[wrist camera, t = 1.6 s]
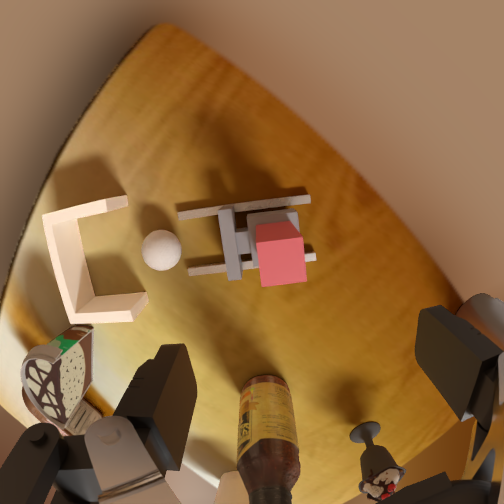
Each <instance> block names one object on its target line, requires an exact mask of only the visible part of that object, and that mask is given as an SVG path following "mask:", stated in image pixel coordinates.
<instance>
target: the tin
mask: <svg viewBox="0 0 504 504" xmlns="http://www.w3.org/2000/svg"><path fill="white" fill-rule="evenodd" d="M22 396H23V400H24V403H25V405H26V407H27V408H28V410H29V411H30V412H31V413H32V414H33V415H34V416H35V417H36V418H37V419H38V420H39V421H40V422H41V423H51V424H53V423H52V422H51V421H49V420H48V419H47V418H46V417H45V416H44V415H42V414H41V413H40V411H39V410H38V409H37V408H36V407H35V406H34V404H33V403H32V402H31V400H30V399H29V397H28V395H27V394H26V392H25V389H24V387H22ZM101 418H104V417H103V416H102V414H101V413H100V412H99V411H98V410H97V409H96V408H94V407H93V406H92V405H91V404H90V403H89V402H87V401H86V400H85V399H84V398H82V399H81V401H80V403H79V404H78V406H77V408H76V409H75V411H74V413H73V414H72V416H71V418H70V419H69V421H70V423H69V424H68V425H67V426H66V428H64V429H61V428H60V427H58V426H56V425H55V424H53V425H55V426H56V427H57V428H58V430H59V431H60V433H61V434H62V436H72V435H83V434H85V432H86V430H87V429H88V427H89V426H90V425H91V424H92V423H94V422H95V421H97V420H98V419H101Z"/></svg>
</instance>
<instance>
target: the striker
mask: <svg viewBox="0 0 504 504" xmlns="http://www.w3.org/2000/svg"><path fill="white" fill-rule="evenodd" d="M217 211H218V218H219V225H220V231H221V238H222V244H223V250H224V257H225V263H226V269H227V275H228V281H231V280H240V279H242V272H243V268H242V261H241V254H248V253H252V261H253V267H256V266H259V269H260V277H261V284H262V287H267V286H274V285H282V284H290V283H298V282H305V281H307V278H306V266H305V255H304V244H303V237H302V235H301V234H300V233H299V223H298V214H297V211H296V210H295V209H284V210H276V211H268V212H260V213H252V214H247V224H248V228H240V229H237V227H236V220H235V213H234V206H227V207H221V208H220V209H219V210H217Z"/></svg>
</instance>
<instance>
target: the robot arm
mask: <svg viewBox="0 0 504 504" xmlns="http://www.w3.org/2000/svg"><path fill="white" fill-rule="evenodd" d="M415 356H416V360H417V362H418V364H419V366H420V367H421V368H422V369H423V371H424V372H425V373H426V375H427V376H428V377H429V379H430V380H431V381H432V383H433V384H434V385H435V387H436V388H437V389H438V391H439V392H440V393H441V395H442V396H443V397H444V399H445V400H446V401H447V403H448V404H449V406H450V407H451V408H452V410H453V411H454V413H455V414H456V415H457V417H458V418H459V420H460V421H464V420H466V419H468V418H470V417H473V416H474V417H475V418H476V421H475V423H474V425H473V430H472V437H471V443H470V448H469V453H468V458H467V463H466V467H465V471H464V474H463V476H462V478H461V480H453V481H450V480H449V478H448V476H447V475H446V472H442V473H440V474H438V475H435V476H433V477H430V478H428V479H425V480H423V481H420V482H418V483H415V484H412V485H410V486H406V487H404V488H403V489H401V490H400V491H398V492H396V493H394V494H393V495H391V496H389V497H387V498H385V499H383V500H381V501H380V502H378V503H376V504H504V302H503V301H501V300H499V299H498V298H495V299H494V298H493V297H491V296H490V295H487V294H485V293H480V294H477V295H475V296H473V297H471V298H470V299H469V300H467V301H466V302H465V303H464V304H463V305H462V306H461V307H460V309H459V310H458V312H457V313H456V315H453V314H452V313H451V312H449V311H448V310H447V309H446V308H444V307H443V306H442V305H438V306H434V307H430V308H425V309H422V310H421V311H420V313H419V318H418V327H417V335H416V343H415ZM128 387H129V388H127V389H126V391H125V393H124V395H123V397H122V399H121V401H120V402H119V404H118V406H117V408H116V410H115V412H114V414H113V416H107V417H104V418H101V419H98V420H97V421H95V422H94V423H92V424H91V425H90V426H89V427H88V429H87V430H86V432H85V434H83V435H72V436H62V434H61V433H60V431H59V430H58V428H57V427H56V426H55V425H53V424H51V423H38V424H35V425H33V426H31V427H29V428H28V429H27V430H26V431H25V432H24V433H23V434H22V435H21V437H20V438H19V440H18V442H17V443H16V445H15V446H14V448H13V449H12V451H11V453H10V454H9V456H8V457H7V459H6V460H5V462H4V464H3V465H2V467H1V469H0V504H44V502H45V500H46V497H47V495H48V493H49V490H50V489H51V486H52V485H53V486H54V487H55V489H56V492H55V494H54V497H53V499H52V501H51V504H181V502H180V501H179V500H178V498H177V497H176V495H175V494H174V492H173V491H172V489H171V488H170V487H169V485H168V484H167V482H166V481H165V479H164V478H165V474H166V471H167V470H173V471H180V467H181V463H182V458H183V454H184V450H185V445H186V441H187V437H188V432H189V428H190V424H191V420H192V415H193V411H194V407H195V403H196V399H197V384H196V379H195V376H194V372H193V369H192V365H191V362H190V358H189V355H188V351H187V348H186V346H185V344H165V345H161V347H160V348H159V350H158V352H157V354H156V356H155V358H154V359H148V360H147V361H146V362H145V363H144V364H143V365H141V366H140V367H139V368H138V369H137V371H136V373H135V375H134V377H133V380H131V382H130V384H129V386H128Z"/></svg>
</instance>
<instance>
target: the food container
mask: <svg viewBox="0 0 504 504" xmlns="http://www.w3.org/2000/svg"><path fill="white" fill-rule="evenodd" d="M93 337H94V328H93V327H90V326H87V325H76V326H73V327H71V328H69V329H68V330H66V331H65V332H63V333H62V334H61V335H59V336H58V337H56V338H55V339H54V340H52V341H51V342H50V343H48V344H47V345H38V346H35V347H33V348H32V349H31V350H30V351H29V353H28V354H27V356H26V358H25V359H24V361H23V364H22V368H21V381H22V384H23V387H24V389H25V392H26V394H27V395H28V397H29V399H30V400H31V402H32V403H33V404H34V406H35V407H36V408H37V409H38V410H39V411H40V413H41V414H42V415H44V416H45V417H46V418H47V419H48V420H49V421H51V422H52V423H53V424H55V425H56V426H58V427H60V428H61V429H64V428H66V426H67V425H68V424H69V423H70V421H69V419H70V418H71V416H72V414H73V413H74V411H75V409H76V408H77V406H78V404H79V403H80V401H81V399H82V398H83V396H84V394H85V393H86V391H87V389H88V388H89V386H90V385H91V383H92V381H93Z"/></svg>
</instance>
